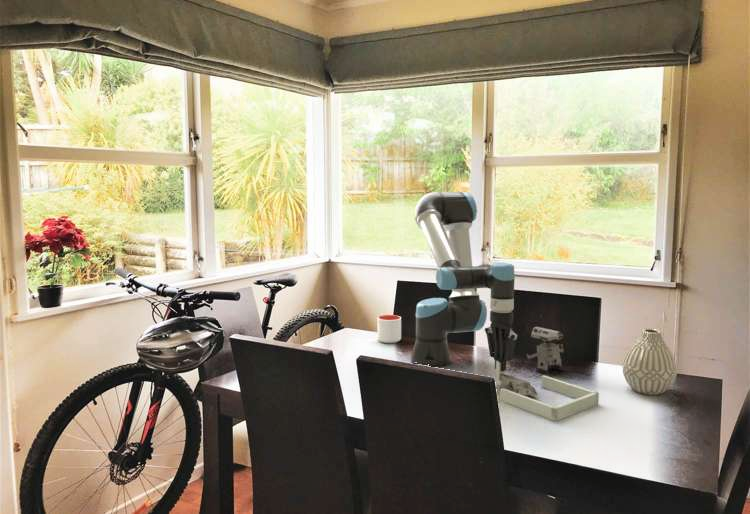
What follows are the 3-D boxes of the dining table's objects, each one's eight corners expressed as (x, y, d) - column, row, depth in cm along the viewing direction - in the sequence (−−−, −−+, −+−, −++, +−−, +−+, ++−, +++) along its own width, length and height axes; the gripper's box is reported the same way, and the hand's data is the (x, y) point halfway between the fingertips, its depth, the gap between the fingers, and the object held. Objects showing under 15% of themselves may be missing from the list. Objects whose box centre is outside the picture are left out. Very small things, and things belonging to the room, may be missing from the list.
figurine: (539, 363, 225) (540, 323, 223) (565, 371, 215) (567, 330, 213) (523, 367, 219) (524, 327, 217) (549, 376, 210) (550, 334, 208)
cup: (375, 343, 252) (375, 319, 250) (379, 337, 262) (379, 314, 260) (399, 344, 250) (399, 320, 249) (402, 338, 260) (402, 315, 259)
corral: (500, 400, 188) (500, 388, 187) (543, 385, 200) (543, 375, 200) (554, 421, 171) (555, 409, 171) (598, 404, 184) (598, 392, 184)
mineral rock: (541, 399, 188) (541, 385, 188) (517, 401, 186) (518, 387, 186) (519, 383, 203) (519, 370, 202) (497, 385, 201) (497, 372, 200)
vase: (613, 391, 195) (616, 331, 193) (631, 378, 207) (635, 322, 204) (665, 403, 184) (669, 340, 182) (681, 390, 196) (685, 330, 193)
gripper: (479, 308, 201) (478, 376, 204) (509, 315, 191) (507, 387, 194) (494, 305, 206) (493, 372, 209) (524, 312, 195) (522, 382, 198)
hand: (500, 379), depth 201 cm, fingers closed
